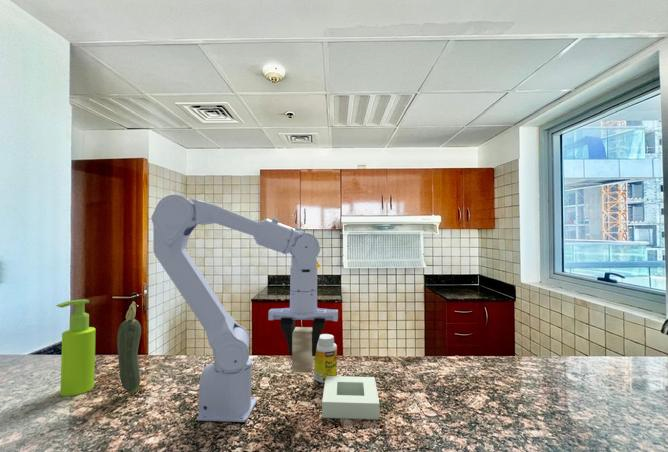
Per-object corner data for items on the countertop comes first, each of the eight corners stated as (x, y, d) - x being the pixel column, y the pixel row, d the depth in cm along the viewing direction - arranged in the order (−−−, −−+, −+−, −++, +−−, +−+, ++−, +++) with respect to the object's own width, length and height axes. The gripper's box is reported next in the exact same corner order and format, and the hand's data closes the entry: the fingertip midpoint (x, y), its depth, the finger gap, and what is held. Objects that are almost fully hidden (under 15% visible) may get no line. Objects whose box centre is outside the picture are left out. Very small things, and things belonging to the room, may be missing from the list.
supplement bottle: (324, 386, 72) (324, 341, 73) (309, 378, 76) (309, 336, 77) (341, 378, 76) (341, 336, 77) (326, 371, 80) (326, 331, 81)
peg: (292, 372, 64) (292, 332, 64) (295, 364, 68) (295, 327, 68) (311, 372, 64) (311, 333, 64) (313, 364, 68) (313, 327, 68)
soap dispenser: (49, 394, 68) (51, 301, 69) (86, 381, 74) (88, 296, 75) (62, 400, 66) (64, 304, 66) (99, 386, 72) (101, 298, 72)
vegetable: (128, 400, 66) (129, 304, 66) (110, 398, 67) (112, 304, 67) (144, 390, 70) (146, 300, 71) (128, 388, 71) (129, 299, 72)
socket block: (321, 417, 60) (322, 401, 60) (325, 389, 71) (325, 375, 71) (379, 419, 60) (379, 403, 60) (374, 390, 71) (374, 377, 71)
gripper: (264, 292, 63) (264, 361, 62) (337, 293, 62) (336, 362, 62) (273, 286, 70) (272, 348, 69) (338, 287, 69) (338, 349, 69)
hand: (303, 354), depth 66 cm, fingers closed on peg, 4 cm apart
